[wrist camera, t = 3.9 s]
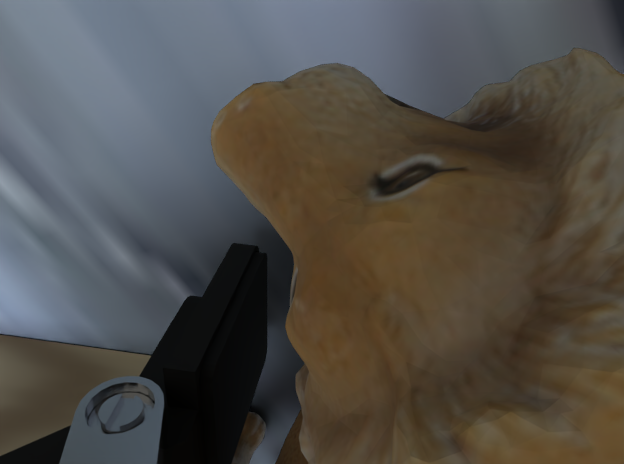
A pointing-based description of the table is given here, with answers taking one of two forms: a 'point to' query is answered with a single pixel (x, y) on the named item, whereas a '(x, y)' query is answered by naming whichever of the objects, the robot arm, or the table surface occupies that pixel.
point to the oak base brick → (51, 384)
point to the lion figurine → (444, 264)
